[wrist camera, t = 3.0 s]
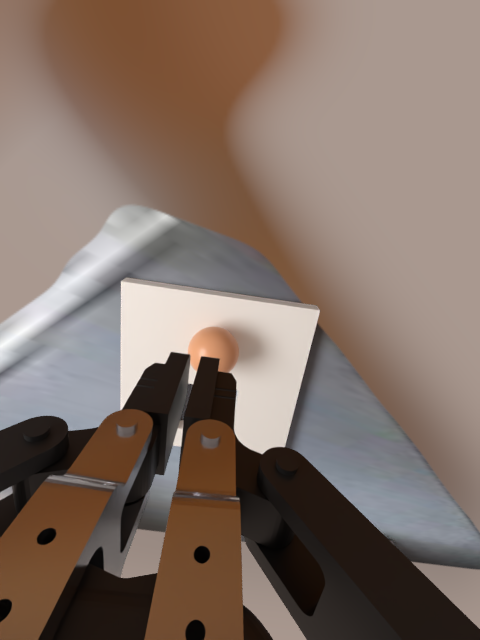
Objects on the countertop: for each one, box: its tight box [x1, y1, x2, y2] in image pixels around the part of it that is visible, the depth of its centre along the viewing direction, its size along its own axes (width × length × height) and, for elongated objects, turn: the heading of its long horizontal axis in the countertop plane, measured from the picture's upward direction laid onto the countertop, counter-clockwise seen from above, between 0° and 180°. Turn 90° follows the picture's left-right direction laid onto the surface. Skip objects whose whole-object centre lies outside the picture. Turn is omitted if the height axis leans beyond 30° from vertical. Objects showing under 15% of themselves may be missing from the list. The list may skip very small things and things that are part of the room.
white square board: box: [121, 278, 320, 454], centre depth 36 cm, size 20×20×2 cm
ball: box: [188, 326, 239, 373], centre depth 31 cm, size 5×5×5 cm
